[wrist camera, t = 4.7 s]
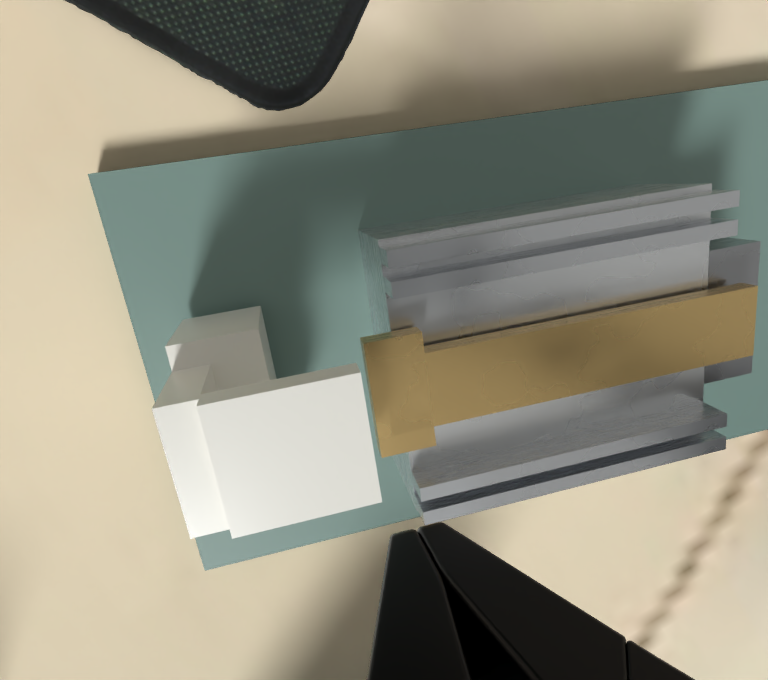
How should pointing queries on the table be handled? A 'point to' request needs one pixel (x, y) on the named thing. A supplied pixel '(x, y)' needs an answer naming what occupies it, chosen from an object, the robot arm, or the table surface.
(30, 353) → the table surface
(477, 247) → the heatsink
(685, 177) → the board
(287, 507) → the clip
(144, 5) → the mouse mat
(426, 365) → the tan flat bar
